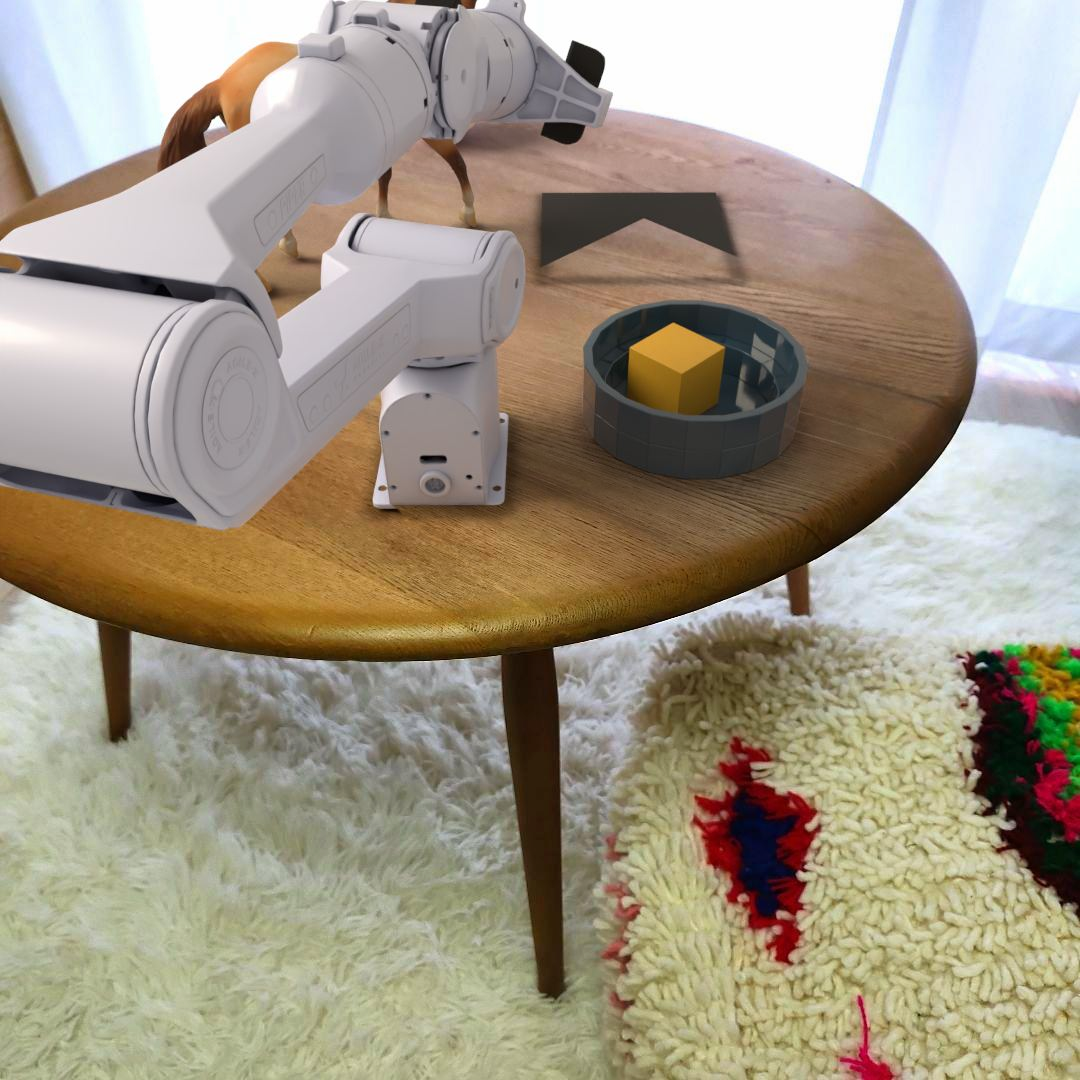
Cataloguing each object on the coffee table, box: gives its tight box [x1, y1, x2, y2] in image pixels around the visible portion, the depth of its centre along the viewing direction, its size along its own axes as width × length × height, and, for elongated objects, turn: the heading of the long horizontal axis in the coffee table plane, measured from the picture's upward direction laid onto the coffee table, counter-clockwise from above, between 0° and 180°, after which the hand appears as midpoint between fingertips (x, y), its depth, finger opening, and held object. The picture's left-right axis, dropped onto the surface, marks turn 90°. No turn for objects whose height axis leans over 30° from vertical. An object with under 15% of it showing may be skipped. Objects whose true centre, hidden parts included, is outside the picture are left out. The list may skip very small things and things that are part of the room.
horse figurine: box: [156, 0, 478, 294], centre depth 80 cm, size 31×8×21 cm, turn 123°
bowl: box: [581, 299, 810, 480], centre depth 67 cm, size 14×14×5 cm
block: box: [627, 323, 725, 415], centre depth 68 cm, size 4×4×4 cm
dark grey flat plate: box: [540, 191, 734, 268], centre depth 89 cm, size 16×16×1 cm
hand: (531, 64), depth 68 cm, fingers open, 7 cm apart
